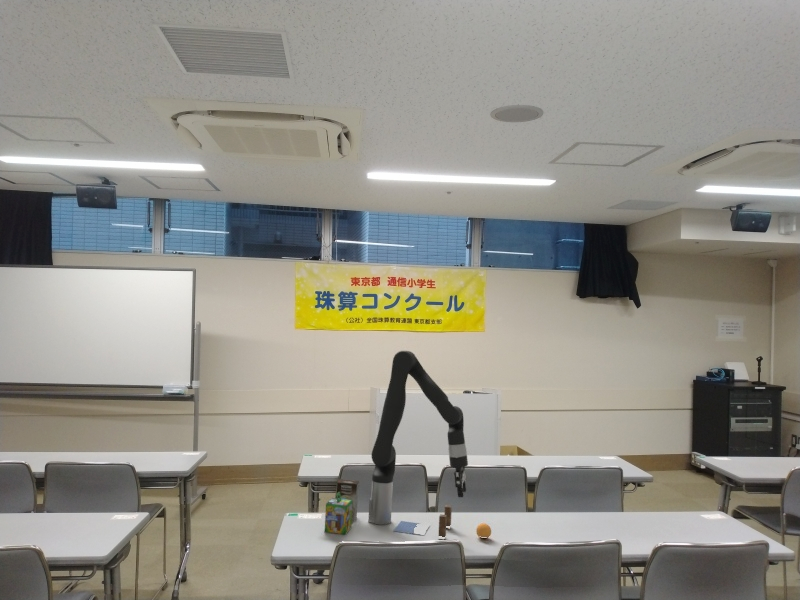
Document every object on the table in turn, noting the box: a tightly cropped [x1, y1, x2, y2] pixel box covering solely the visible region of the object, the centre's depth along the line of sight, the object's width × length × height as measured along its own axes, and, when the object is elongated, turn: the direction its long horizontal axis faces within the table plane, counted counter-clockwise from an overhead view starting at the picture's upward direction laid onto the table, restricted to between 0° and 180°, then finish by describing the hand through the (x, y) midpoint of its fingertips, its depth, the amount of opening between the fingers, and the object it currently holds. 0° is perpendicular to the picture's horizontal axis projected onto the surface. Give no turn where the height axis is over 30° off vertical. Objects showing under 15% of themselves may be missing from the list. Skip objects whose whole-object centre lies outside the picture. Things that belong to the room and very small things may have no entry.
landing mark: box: [393, 520, 420, 535], centre depth 216 cm, size 13×13×1 cm
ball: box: [475, 522, 492, 538], centre depth 208 cm, size 6×6×6 cm
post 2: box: [443, 504, 453, 526], centre depth 219 cm, size 3×3×9 cm
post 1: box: [438, 513, 447, 537], centre depth 206 cm, size 3×3×9 cm
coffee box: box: [335, 478, 360, 523], centre depth 224 cm, size 9×6×16 cm
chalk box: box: [324, 492, 353, 535], centre depth 210 cm, size 9×9×15 cm
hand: (462, 494), depth 213 cm, fingers open, 8 cm apart
